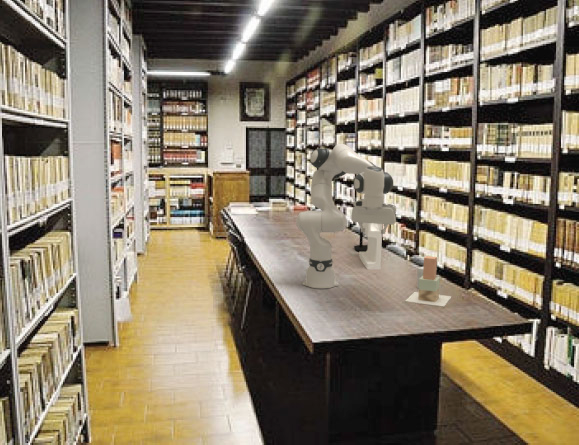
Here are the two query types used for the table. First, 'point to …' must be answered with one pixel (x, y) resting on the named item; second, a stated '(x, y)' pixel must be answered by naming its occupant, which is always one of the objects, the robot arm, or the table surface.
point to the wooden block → (428, 295)
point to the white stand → (372, 246)
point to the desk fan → (361, 247)
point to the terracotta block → (429, 268)
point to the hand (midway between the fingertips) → (372, 232)
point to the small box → (419, 275)
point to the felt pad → (440, 301)
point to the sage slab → (429, 284)
